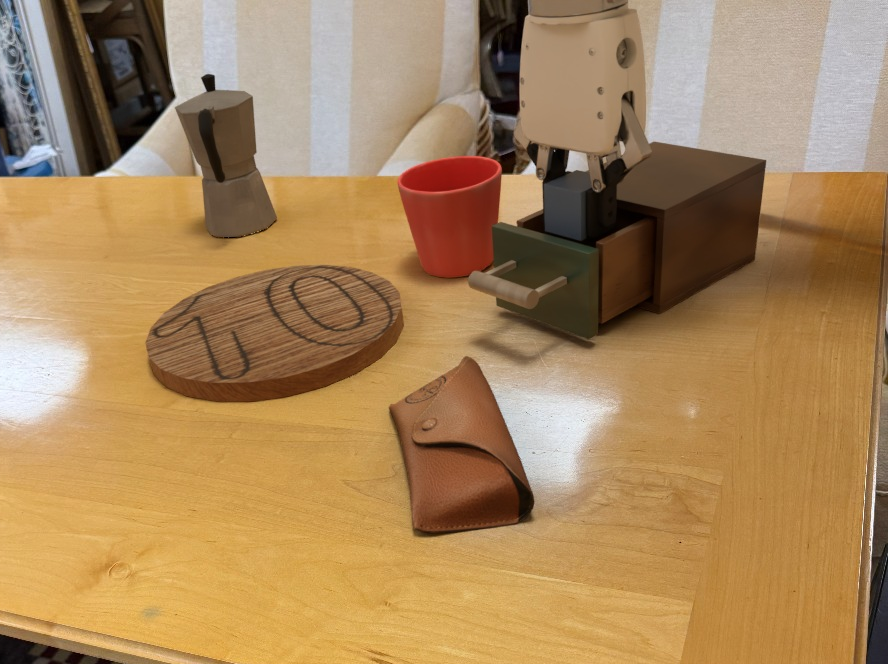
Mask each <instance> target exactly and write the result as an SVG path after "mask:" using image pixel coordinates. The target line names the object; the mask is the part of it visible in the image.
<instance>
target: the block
mask: <svg viewBox="0 0 888 664" xmlns="http://www.w3.org/2000/svg"><path fill="white" fill-rule="evenodd" d="M570 172H571V173H569V174H566V175H564V176H562V177H559V178H557V179H555V180H552V181H550V182H548V183H546V184H544V213H545V231H546V232H550V233H553V234H557V235H561V236H564V237H568V238H572V239H575V240H579V241H582V240H584V239H586V238H588V236H587V234H586V192H587V191H589V190H591V189H592V187H591V181H590V174H589V172H585V171H583V170H579V169H576V170H574V171H573V170H572V171H570Z"/></svg>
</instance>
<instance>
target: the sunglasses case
mask: <svg viewBox="0 0 888 664" xmlns="http://www.w3.org/2000/svg"><path fill="white" fill-rule="evenodd" d="M388 410H389V413H390V415H391V417H392V419H393V421H394V423H395V426H396V429H397V433H398V437H399V440H400V443H401V444H400V445H401V448H402V453H403V459H404V463H405V467H406V473H407V474H406V475H407V478H408V479H407V480H408V486H409V490H410V492H409V493H410V505H411V518H412V526H413V529H414V530H415V531H418V532H422V533H426V534H433V533H434V534H435V533H456V532H457V533H458V532H470V531H477V530H483V529H491V528H498V527H505V526H506V527H507V526H511V525H517V524H519V523H521V522H522V521H523V520H525V519H526V518H527V517H528V516H529V515H530V514H531V513H532V511H533V510H534V506H535V496H534V493H533V490H532V487H531V484H530V483H529V479H528V476H527V473H526V470H525V468H524V465H523V462H522V459H521V457H520V455H519V452H518V449H517V447H516V445H515V442H514V439H513V437H512V435H511V433H510V431H509V428H508V426H507V423H506V421H505V420H506V419H505V418H504V416H503V413H502V410H501V408H500V406H499V403H498V402H497V399H496V397H495V394H494V391H493V389H492V387H491V385H490V383H489V382H488V380H487V378H486V376H485V375H484V373H483V370H482V369H481V366H480V365H479V363H478V362H477V361H476V360H475V359H474V358H473V357H471V356H468V355H466V356H464V357H463V358H462V359H461V360H460V362H459V364H458V365H457V366H455V367H453V368H452V369H450V370H448V371H447V372H445V373H443V374H441V375H440V376H438V377H437V378H435V379H433V380H432V381H430V382H428V383H426V384H425V385H423V386H421V387H420V388H418V389H417V390H415V391H413V392H411V393H409V394H408V395H407V396H405V397H404V398H402V399H400V400H398V401H397V402H395V403H390V404H389V406H388Z"/></svg>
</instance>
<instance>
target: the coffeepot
mask: <svg viewBox="0 0 888 664" xmlns="http://www.w3.org/2000/svg"><path fill="white" fill-rule="evenodd" d="M200 80H201V82H202V84H203V87H204V89H205V92H202V93H200V94H198V95H196V96H193V97H191V98H189V99H187V100H185V101H184V102H181V103H180V104H177V105H176V106H174V110H175V112H176V114H177V117H178V119H179V122H180V125H181V127H182V129H183V132H184V134H185V137H186V140H187V142H188V144H189V147H190V149H191V152H192V154H193V157H194V160H195V161H196V163H197V164H198V165H199V166H200V170H201V173H202V179H201V185H202V186H201V187H202V199H203V206H204V207H203V210H204V211H203V212H204V220H205V221H204V223H205V228H206V230H207V231H208V233H209V235H211V236H212V235H213V236H212V237H214V238H219V237H223V238H222V239H225V238H224V237H228V238H227V239H230V238H229V237H237V238H242V237H241V236H243V237H245V236H244V235H248V234H251V233H254V232H257V231H260V230H263V231H265V230H267V229H268V228H267V227H269V226H270V225H271V224H272V223H273V222H274V221H276V220H277V219H278V216H277V214H276V211H275V208H274V206H273V203H272V201H271V198H270V195H269V192H268V190H267V187H266V185H265V182H264V180H263V177H262V174H261V171H260V170H259V169H258V167H257V164H256V160H255V155H256V154H257V152H258V151H257V139H256V122H255V110H254V96H253V95H252V94H250V93H249V92H247V91H245V90H231V89H230V90H229V89H216V75H215V74H211V73H206V74H204V75H203V76H201V77H200ZM274 223H275V222H274ZM274 223H273V224H274ZM273 224H272V225H273ZM272 225H271V226H272ZM271 226H270V227H271ZM270 227H269V228H270ZM266 228H267V229H266ZM264 229H265V230H264ZM248 236H249V235H248Z"/></svg>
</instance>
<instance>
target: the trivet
mask: <svg viewBox="0 0 888 664" xmlns="http://www.w3.org/2000/svg"><path fill="white" fill-rule="evenodd" d="M404 326H405V323H404V316H403V308H402V299H401V293H400V292H399V290H398V289H397V288H396V287H395V285H394V284H393V283H392V282H391V281H390V280H389V279H387V278H384V277H382V276H380V275H379V274H377V273H375V272H372V271H369V270H365V269H361V268H357V267H353V266H345V265H344V266H343V265H332V264H306V265H305V264H304V265H303V264H302V265H291V266H284V267H276V268H270V269H264V270H259V271H255V272H252V273H251V272H250V273H247V274H243V275H238V276H235V277H232V278H229V279H227V280H224V281H221V282H218V283H215V284H212V285H210V286H207V287H205V288H203V289H201V290H198V291H197V292H195V293H193V294H190V295H189V296H187V297H185V298H183V299H182V300H180V301H179V302H177V303H176V304H174V305H173V306H172V307H170V308H169V309H167V310H166V311H164V312H163V313H162V315H161V316H160V317H159V318H158V319H157V320H156V321H155V322H154V323H153V325H152V326H151V327H150V328H149V332H148V334H147V337H146V339H145V343H144V344H145V347H146V352H147V356H148V359H149V363H150V367H151V369H152V372H153V375H154V377H156V378H157V380H159V381H160V382H161V383H162V384H163V385H164V386H165V388H167V389H170V390H172V391H174V392H177V393H179V394H181V395H184V396H186V397H189V398H194V399H199V400H200V399H201V400H205V401H213V402H258V401H266V400H273V399H280V398H281V399H282V398H286V397H287V398H288V397H291V396H296V395H299V394H304V393H307V392H310V391H315V390H318V389H321V388H325V387H328V386H330V385H333V384H334V383H337V382H340V381H342V380H344V379H347V378H349V377H351V376H354V375H356V374H358V373H360V372H361V371H362V370H364V369H365V368H367V367H368V366H371V365H372V364H373V363H375V362H377V361H378V360H379V359H381V358H383V356H384V355H385V354H386V353H387V352H388V351H389V350H390V349H391V348H392V347H393V346H394V345H395V344H396V343H397V342H398V340H399V339H400V335H401V334H402V333H401V332H402V331H403V328H404Z"/></svg>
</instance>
